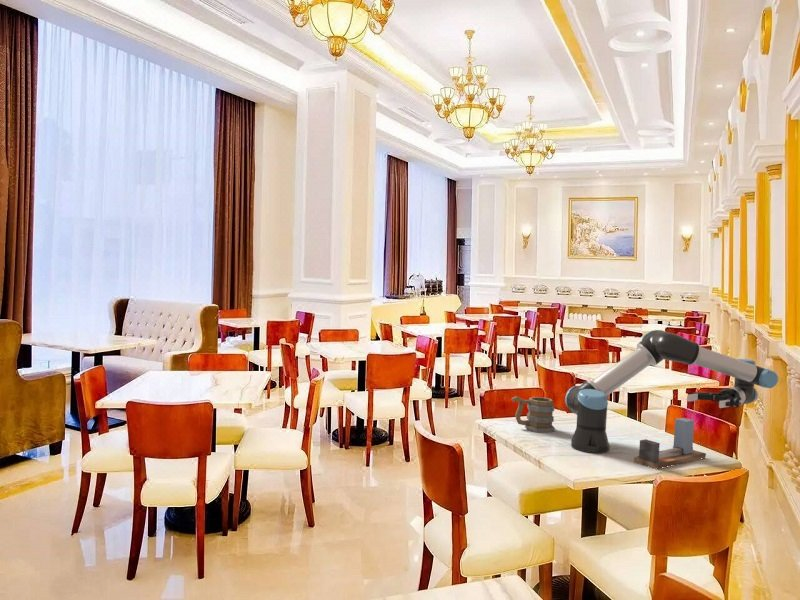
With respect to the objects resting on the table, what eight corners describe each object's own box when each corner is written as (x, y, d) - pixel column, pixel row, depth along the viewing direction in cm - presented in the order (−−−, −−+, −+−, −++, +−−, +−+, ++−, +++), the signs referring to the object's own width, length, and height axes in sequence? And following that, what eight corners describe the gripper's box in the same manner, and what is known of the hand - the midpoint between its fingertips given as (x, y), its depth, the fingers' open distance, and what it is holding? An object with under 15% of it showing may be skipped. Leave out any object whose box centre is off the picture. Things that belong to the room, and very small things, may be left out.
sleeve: (672, 450, 246) (674, 418, 246) (680, 449, 249) (682, 417, 248) (685, 454, 242) (687, 421, 241) (692, 452, 245) (694, 420, 244)
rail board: (634, 462, 236) (635, 439, 236) (682, 451, 254) (683, 430, 254) (657, 469, 228) (658, 445, 228) (705, 458, 246) (707, 436, 245)
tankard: (550, 426, 289) (551, 394, 288) (556, 433, 276) (558, 400, 275) (507, 424, 289) (509, 393, 289) (512, 431, 277) (513, 398, 276)
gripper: (761, 411, 253) (733, 416, 241) (703, 400, 274) (675, 404, 262) (762, 393, 253) (734, 397, 241) (703, 383, 273) (676, 387, 262)
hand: (703, 401), depth 251 cm, fingers open, 13 cm apart
